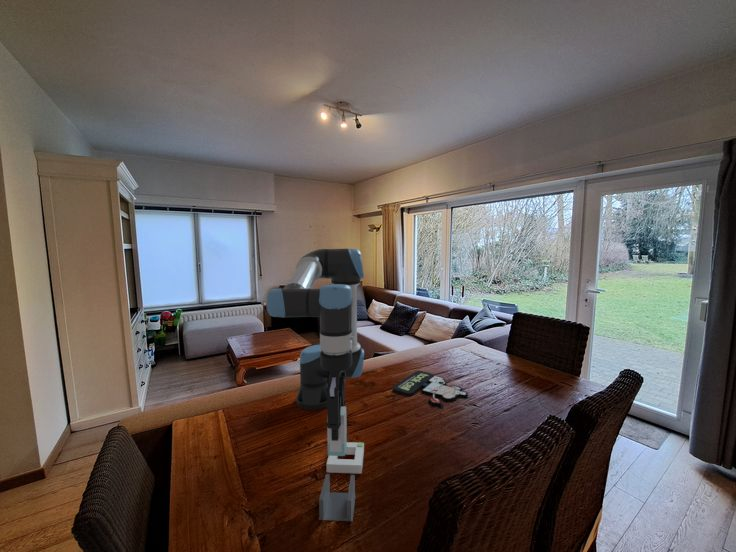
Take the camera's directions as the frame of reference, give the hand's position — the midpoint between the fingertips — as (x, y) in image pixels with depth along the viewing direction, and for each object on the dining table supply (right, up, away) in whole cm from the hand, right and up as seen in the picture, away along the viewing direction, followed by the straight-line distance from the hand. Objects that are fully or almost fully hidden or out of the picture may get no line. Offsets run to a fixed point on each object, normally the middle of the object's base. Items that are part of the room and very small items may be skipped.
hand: (337, 444), depth 72 cm
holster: (0, -16, +1) cm, 17 cm away
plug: (0, -2, 0) cm, 2 cm away
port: (+1, -15, +17) cm, 23 cm away
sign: (+37, -12, +65) cm, 76 cm away
